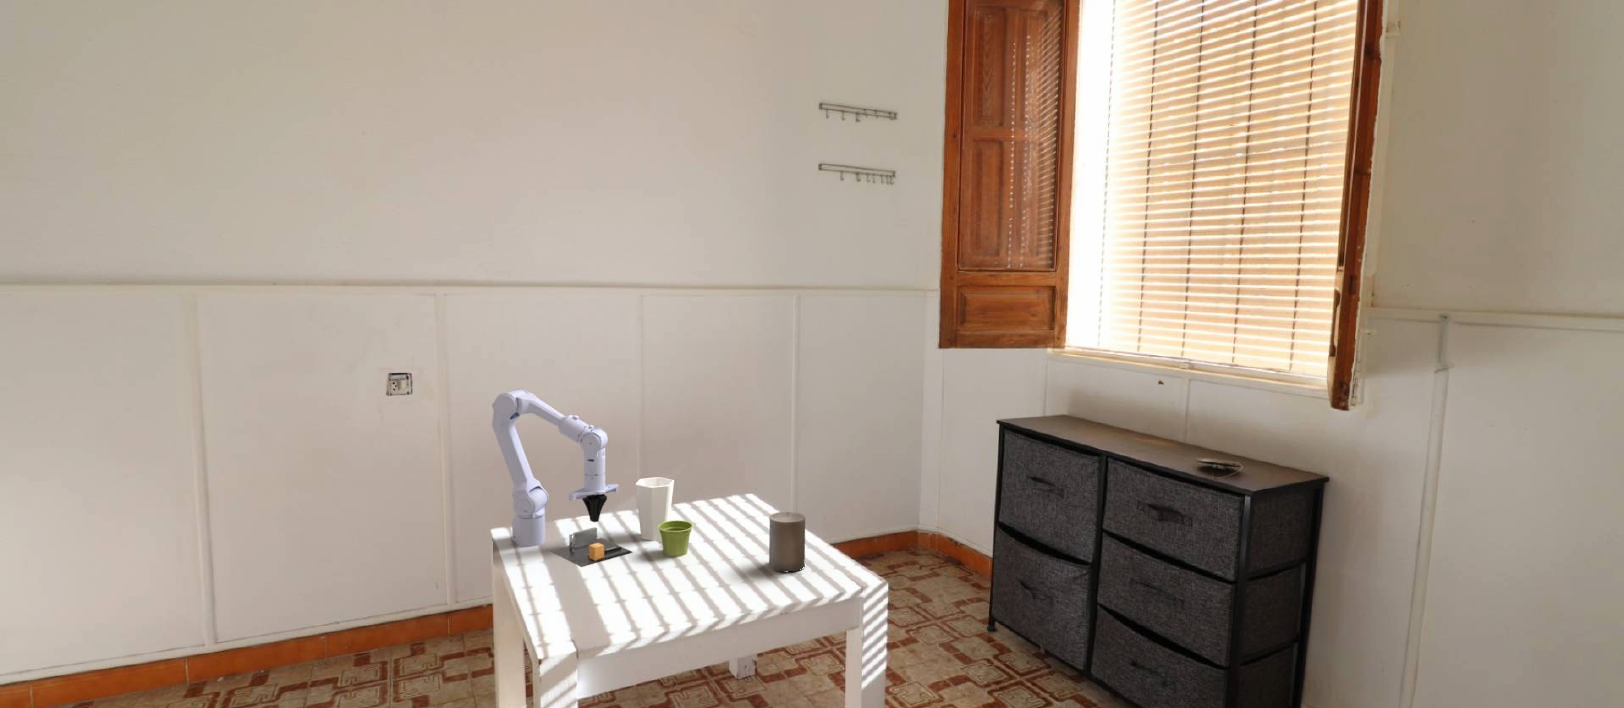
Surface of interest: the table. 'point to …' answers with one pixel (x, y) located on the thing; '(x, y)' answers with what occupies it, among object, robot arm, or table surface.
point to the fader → (596, 551)
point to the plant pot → (675, 537)
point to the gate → (584, 537)
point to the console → (582, 553)
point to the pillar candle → (787, 541)
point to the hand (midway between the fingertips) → (594, 521)
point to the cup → (653, 505)
